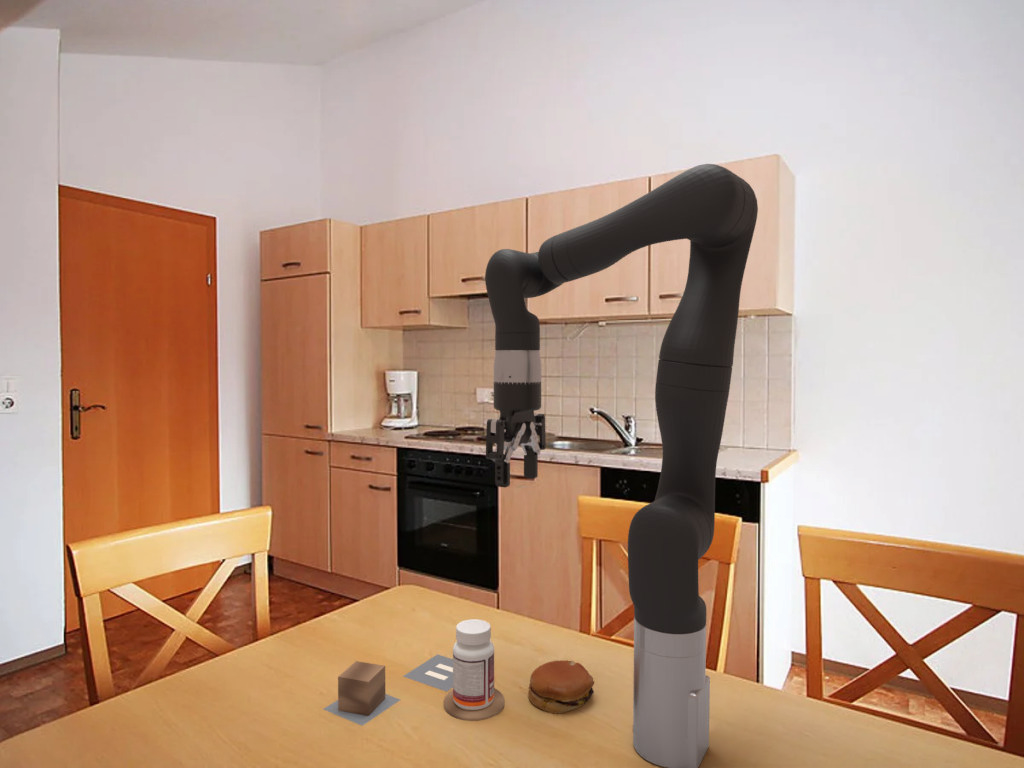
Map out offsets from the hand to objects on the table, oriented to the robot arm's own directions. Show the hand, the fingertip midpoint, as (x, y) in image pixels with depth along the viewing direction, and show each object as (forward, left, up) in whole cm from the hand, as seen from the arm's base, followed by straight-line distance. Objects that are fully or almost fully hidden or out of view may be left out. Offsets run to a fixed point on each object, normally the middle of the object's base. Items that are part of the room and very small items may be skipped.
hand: (517, 482), depth 100 cm
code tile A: (+12, +4, -32) cm, 35 cm away
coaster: (+2, +9, -32) cm, 33 cm away
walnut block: (+16, +18, -32) cm, 40 cm away
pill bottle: (+2, +9, -32) cm, 33 cm away
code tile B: (+16, +18, -32) cm, 40 cm away
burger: (-8, 0, -32) cm, 34 cm away
